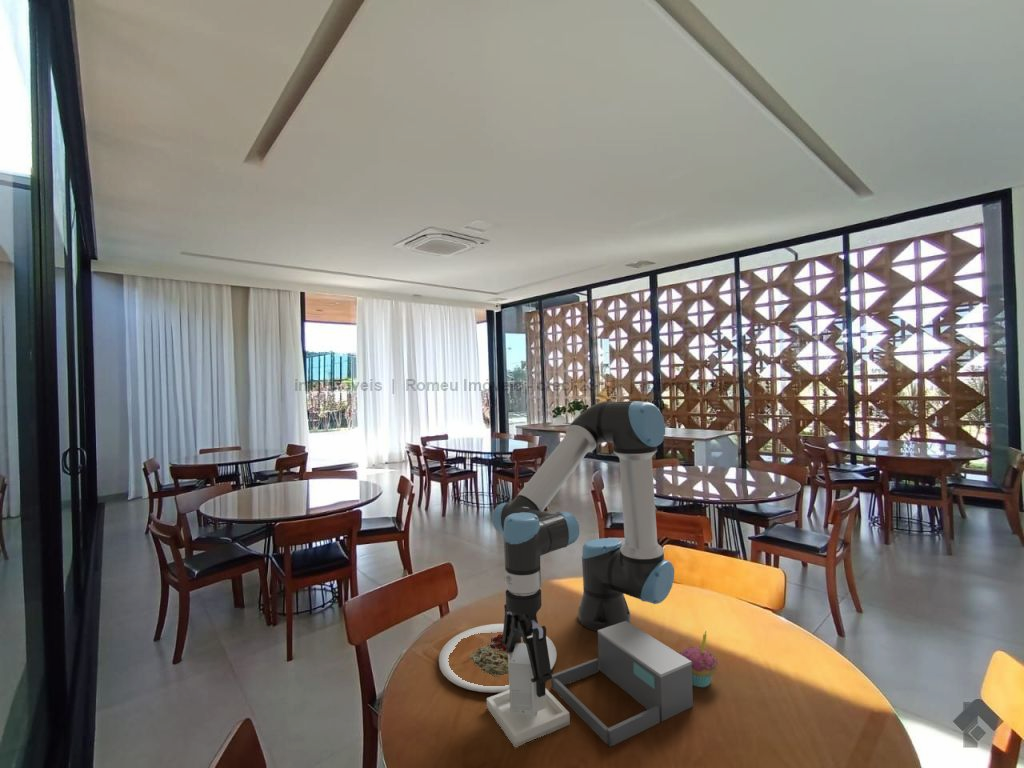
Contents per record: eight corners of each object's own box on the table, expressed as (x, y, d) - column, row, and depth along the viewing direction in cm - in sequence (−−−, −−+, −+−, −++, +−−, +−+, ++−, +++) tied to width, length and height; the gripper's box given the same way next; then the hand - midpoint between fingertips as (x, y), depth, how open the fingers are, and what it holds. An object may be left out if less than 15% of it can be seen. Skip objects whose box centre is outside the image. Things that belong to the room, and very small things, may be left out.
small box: (536, 717, 95) (535, 665, 95) (509, 714, 96) (508, 662, 96) (542, 692, 103) (540, 643, 103) (517, 689, 104) (515, 641, 104)
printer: (551, 688, 109) (550, 646, 109) (627, 658, 119) (625, 620, 119) (609, 747, 90) (608, 696, 90) (693, 706, 101) (691, 661, 101)
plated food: (439, 707, 104) (438, 692, 104) (438, 636, 133) (438, 624, 133) (571, 689, 108) (570, 674, 108) (542, 624, 138) (542, 613, 138)
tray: (486, 709, 102) (486, 698, 102) (537, 689, 108) (537, 679, 108) (514, 748, 91) (514, 736, 91) (569, 724, 97) (569, 712, 97)
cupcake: (716, 673, 112) (715, 623, 112) (719, 696, 104) (718, 641, 104) (678, 667, 115) (676, 618, 115) (678, 689, 107) (676, 636, 107)
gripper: (485, 574, 108) (488, 673, 107) (534, 614, 88) (538, 735, 88) (514, 568, 111) (517, 663, 111) (568, 605, 92) (571, 720, 91)
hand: (526, 695), depth 99 cm, fingers closed on small box, 9 cm apart
